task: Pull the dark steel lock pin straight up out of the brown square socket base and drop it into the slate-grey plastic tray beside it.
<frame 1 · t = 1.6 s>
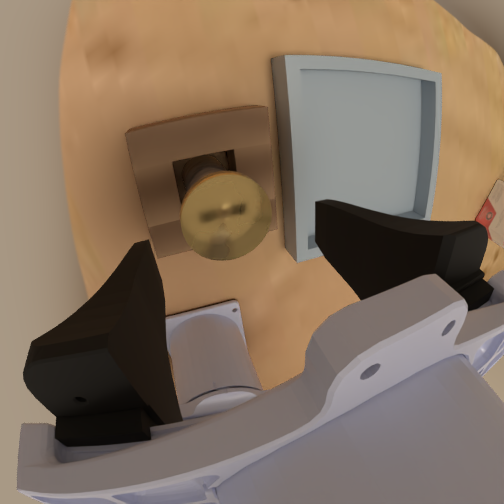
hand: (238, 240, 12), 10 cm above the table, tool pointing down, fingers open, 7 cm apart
tray: (363, 149, 23), on the table
lock pin: (212, 192, 17), in the brown square socket base
brown square socket base: (202, 174, 21), on the table
ink cartridge box: (488, 205, 34), on the table
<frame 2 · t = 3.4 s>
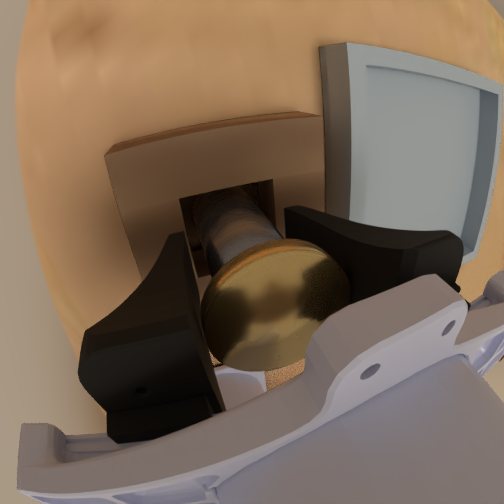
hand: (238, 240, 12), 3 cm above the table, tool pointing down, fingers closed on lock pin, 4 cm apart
tray: (420, 173, 18), on the table
lock pin: (243, 249, 12), in the brown square socket base, touching gripper
brown square socket base: (221, 209, 15), on the table
when the fingers open (6 cm above the table, at t = 7.4 s): lock pin drops 2 cm, resting on tray.
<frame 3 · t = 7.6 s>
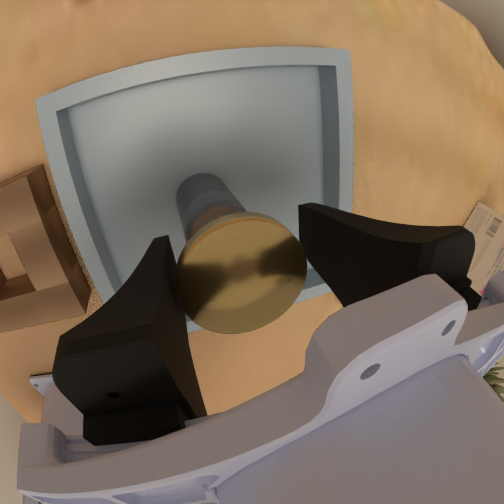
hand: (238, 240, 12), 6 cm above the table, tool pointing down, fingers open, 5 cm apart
tray: (212, 193, 17), on the table
lock pin: (217, 229, 13), in the tray, point 5 cm above the table, touching gripper
potted plant: (445, 340, 42), on the table
brown square socket base: (13, 250, 14), on the table
ink cartridge box: (464, 236, 28), on the table
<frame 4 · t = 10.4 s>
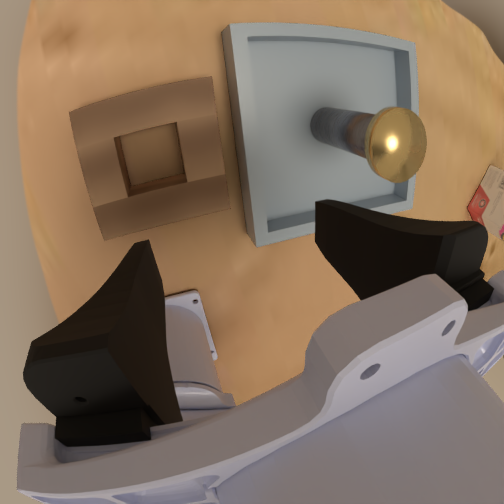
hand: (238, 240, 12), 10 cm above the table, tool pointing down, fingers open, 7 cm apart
tray: (330, 125, 22), on the table
lock pin: (359, 133, 17), in the tray, point 5 cm above the table
brown square socket base: (151, 153, 19), on the table
ink cartridge box: (481, 193, 33), on the table
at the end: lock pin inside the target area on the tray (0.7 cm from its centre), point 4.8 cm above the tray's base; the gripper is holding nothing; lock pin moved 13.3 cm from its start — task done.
